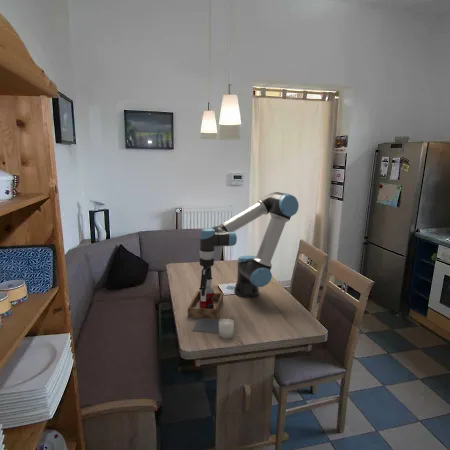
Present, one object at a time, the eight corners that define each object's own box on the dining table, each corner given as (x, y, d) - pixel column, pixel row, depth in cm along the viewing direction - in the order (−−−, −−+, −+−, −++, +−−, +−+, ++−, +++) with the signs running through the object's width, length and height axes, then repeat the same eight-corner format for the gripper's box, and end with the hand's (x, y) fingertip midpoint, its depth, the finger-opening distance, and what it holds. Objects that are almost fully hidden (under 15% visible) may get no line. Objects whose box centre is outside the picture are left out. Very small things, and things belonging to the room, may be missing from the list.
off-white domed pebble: (234, 331, 150) (234, 319, 149) (232, 338, 144) (233, 326, 142) (219, 329, 151) (220, 318, 150) (217, 337, 144) (217, 325, 143)
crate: (222, 301, 182) (223, 293, 181) (216, 319, 161) (216, 310, 160) (197, 299, 184) (197, 291, 183) (187, 317, 163) (187, 308, 162)
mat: (221, 320, 160) (221, 320, 160) (217, 333, 148) (217, 332, 148) (198, 318, 161) (198, 318, 161) (192, 331, 149) (192, 330, 149)
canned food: (208, 313, 167) (208, 293, 165) (196, 309, 171) (196, 290, 169) (216, 308, 174) (216, 289, 172) (204, 304, 178) (204, 285, 176)
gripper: (204, 251, 180) (203, 286, 184) (194, 264, 155) (193, 304, 159) (217, 252, 179) (216, 287, 183) (209, 265, 154) (208, 306, 158)
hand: (205, 295), depth 171 cm, fingers open, 13 cm apart
